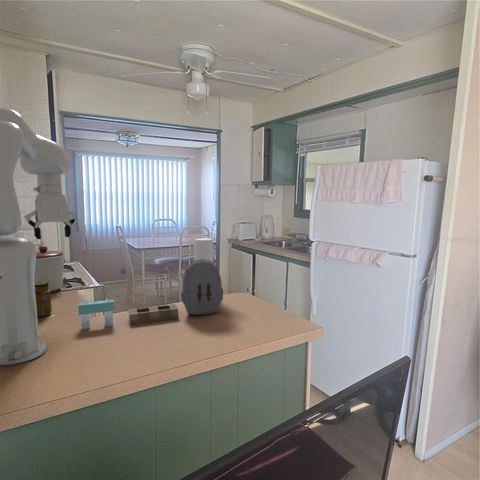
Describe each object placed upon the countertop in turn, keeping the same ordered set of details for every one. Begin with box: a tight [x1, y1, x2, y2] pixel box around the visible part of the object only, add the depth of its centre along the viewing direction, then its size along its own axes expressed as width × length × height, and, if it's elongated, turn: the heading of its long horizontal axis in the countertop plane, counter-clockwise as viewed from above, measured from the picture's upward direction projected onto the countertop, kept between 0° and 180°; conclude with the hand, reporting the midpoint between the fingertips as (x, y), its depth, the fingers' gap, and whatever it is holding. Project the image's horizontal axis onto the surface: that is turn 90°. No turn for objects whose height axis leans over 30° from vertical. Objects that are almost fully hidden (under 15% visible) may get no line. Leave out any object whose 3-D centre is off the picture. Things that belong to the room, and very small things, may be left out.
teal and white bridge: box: [77, 298, 115, 330], centre depth 111 cm, size 3×10×8 cm, turn 111°
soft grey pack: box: [180, 259, 224, 316], centre depth 121 cm, size 15×8×20 cm, turn 105°
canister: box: [34, 245, 66, 293], centre depth 159 cm, size 18×18×21 cm
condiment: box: [35, 282, 57, 321], centre depth 122 cm, size 7×8×12 cm
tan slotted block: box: [128, 303, 180, 326], centre depth 118 cm, size 6×16×4 cm, turn 111°
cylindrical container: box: [194, 237, 214, 263], centre depth 141 cm, size 7×7×25 cm
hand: (53, 237), depth 124 cm, fingers open, 9 cm apart
